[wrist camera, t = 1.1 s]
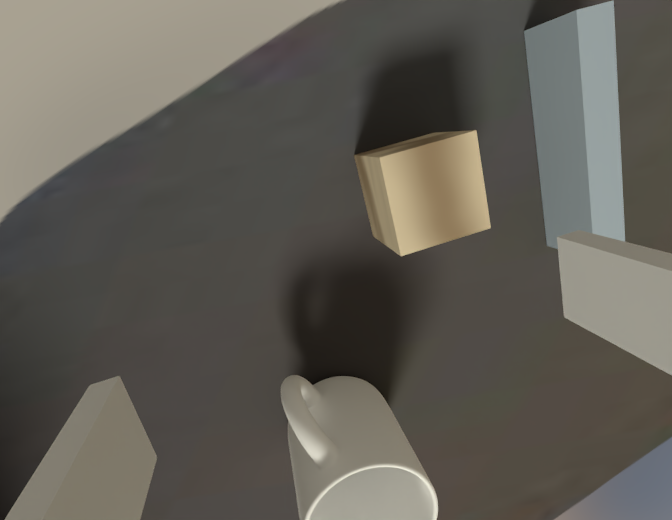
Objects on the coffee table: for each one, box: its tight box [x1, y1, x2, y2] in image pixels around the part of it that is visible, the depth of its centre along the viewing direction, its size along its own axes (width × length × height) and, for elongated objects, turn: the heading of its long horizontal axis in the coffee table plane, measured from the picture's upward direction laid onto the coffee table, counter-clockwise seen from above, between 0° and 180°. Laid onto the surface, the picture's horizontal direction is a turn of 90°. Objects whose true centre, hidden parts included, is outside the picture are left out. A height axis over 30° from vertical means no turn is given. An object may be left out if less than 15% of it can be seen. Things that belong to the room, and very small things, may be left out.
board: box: [524, 1, 625, 249], centre depth 30 cm, size 2×16×5 cm, turn 15°
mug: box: [281, 375, 438, 520], centre depth 30 cm, size 12×8×10 cm
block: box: [354, 130, 491, 256], centre depth 28 cm, size 6×6×6 cm
